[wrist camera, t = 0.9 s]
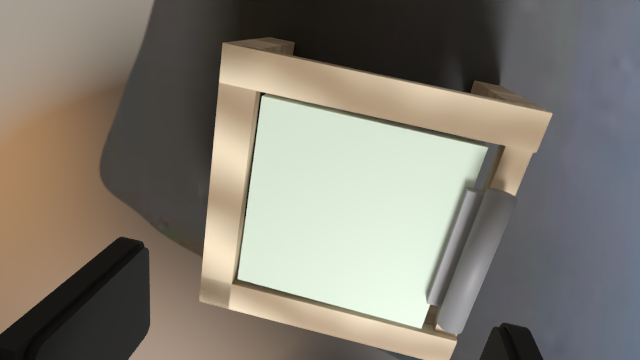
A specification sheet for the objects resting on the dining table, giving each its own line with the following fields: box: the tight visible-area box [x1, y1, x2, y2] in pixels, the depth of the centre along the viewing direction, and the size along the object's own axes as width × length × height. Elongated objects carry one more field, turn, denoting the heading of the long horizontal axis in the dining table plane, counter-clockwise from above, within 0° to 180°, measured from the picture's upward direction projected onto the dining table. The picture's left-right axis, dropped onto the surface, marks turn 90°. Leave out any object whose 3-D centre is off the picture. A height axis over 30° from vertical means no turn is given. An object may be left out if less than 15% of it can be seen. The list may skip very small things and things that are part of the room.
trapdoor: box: [238, 94, 517, 334], centre depth 24 cm, size 13×15×3 cm
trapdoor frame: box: [199, 37, 553, 360], centre depth 30 cm, size 18×18×10 cm
